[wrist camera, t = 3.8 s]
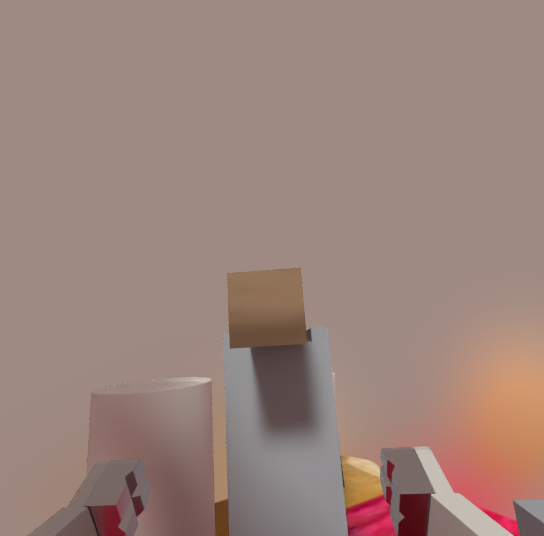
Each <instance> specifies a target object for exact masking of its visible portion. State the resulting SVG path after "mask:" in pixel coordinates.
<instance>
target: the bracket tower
mask: <svg viewBox="0 0 544 536" xmlns="http://www.w3.org/2000/svg"><path fill="white" fill-rule="evenodd" d="M306 337H307V344H296V345H280V346H265V347H250V348H234V349H230V341H229V334H223V342H224V343H223V345H224V375H225V376H224V378H225V409H226V443H227V476H228V510H229V536H348V529H347V519H346V509H345V499H344V489H343V479H342V469H341V459H340V449H339V439H338V429H337V419H336V409H335V399H334V389H333V379H332V369H331V359H330V350H329V340H328V330H327V327H321V328H320V327H319V328H310V329H308V330H307V331H306Z"/></svg>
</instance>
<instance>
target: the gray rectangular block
mask: <svg viewBox="0 0 544 536" xmlns="http://www.w3.org/2000/svg"><path fill="white" fill-rule="evenodd" d="M513 503H514V508H515V513H516V518H517V523H518V528H519V533H520V536H544V499H537V500H513Z"/></svg>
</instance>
